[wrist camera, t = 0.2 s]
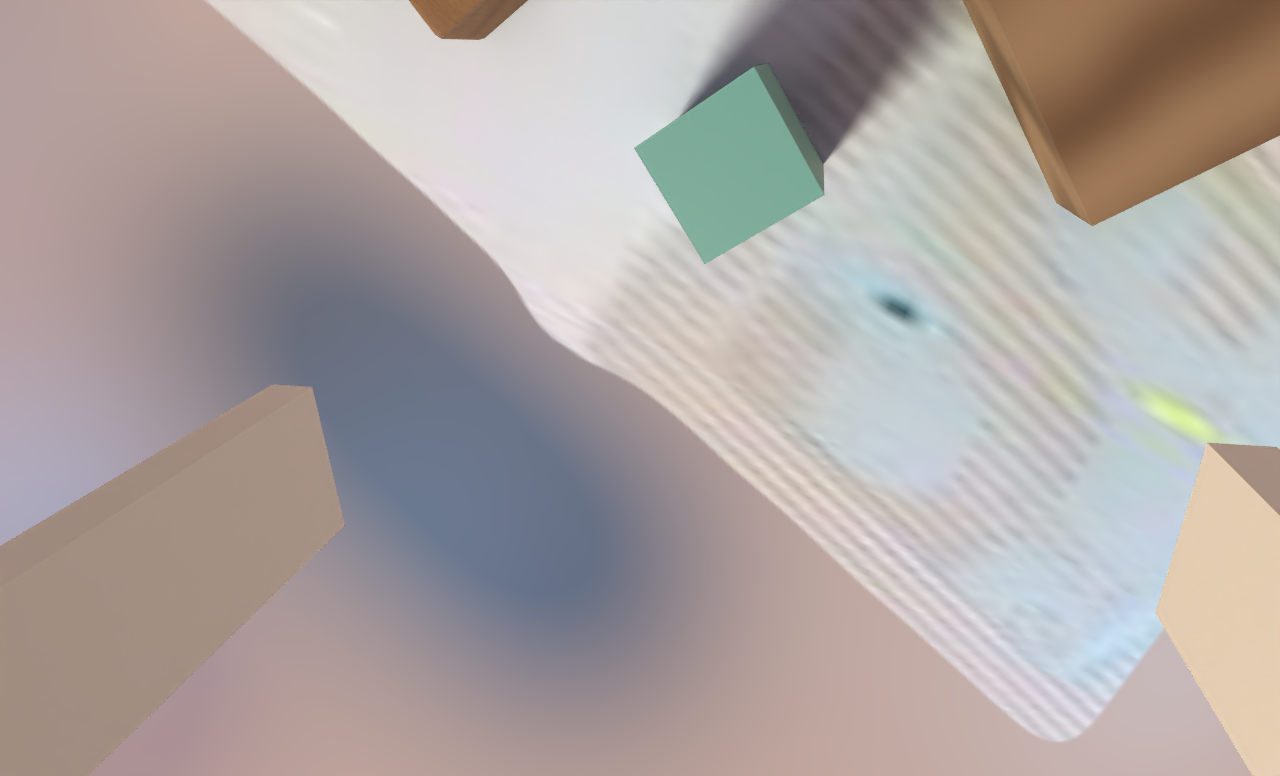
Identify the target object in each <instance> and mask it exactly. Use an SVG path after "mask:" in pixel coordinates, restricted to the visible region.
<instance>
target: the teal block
mask: <svg viewBox="0 0 1280 776" xmlns="http://www.w3.org/2000/svg"><path fill="white" fill-rule="evenodd" d="M634 149H635V150H636V152H637V154H638V155H639V157H640V158H641V160H642V162H643V163H644V165H645V167H646V168H647V170H648V172H649V173H650V175H651V177H652V178H653V180H654V181H655V183H656V185H657V186H658V188H659V190H660V191H661V193H662V195H663V196H664V198H665V200H666V201H667V203H668V205H669V206H670V208H671V209H672V211H673V213H674V214H675V216H676V218H677V219H678V221H679V223H680V224H681V226H682V228H683V229H684V231H685V232H686V234H687V236H688V237H689V239H690V241H691V242H692V244H693V246H694V247H695V249H696V251H697V252H698V254H699V255H700V257H701V259H702V260H703V262H704V264H706V263H707V262H709V261H711V260H713V259H714V258H716V257H718V256H720V255H721V254H723V253H725V252H726V251H728V250H730V249H732V248H733V247H735V246H737V245H739V244H740V243H742V242H744V241H745V240H747V239H749V238H751V237H752V236H754V235H756V234H758V233H759V232H761V231H763V230H765V229H766V228H768V227H770V226H771V225H773V224H775V223H777V222H778V221H780V220H782V219H784V218H785V217H787V216H789V215H790V214H792V213H794V212H796V211H797V210H799V209H801V208H803V207H804V206H806V205H808V204H809V203H811V202H813V201H815V200H816V199H818V198H820V197H822V196H823V195H824V170H823V163H822V161H821V159H820V157H819V155H818V153H817V152H816V150H815V148H814V146H813V144H812V142H811V140H810V139H809V137H808V135H807V133H806V131H805V129H804V128H803V126H802V124H801V122H800V120H799V118H798V117H797V115H796V113H795V111H794V109H793V107H792V105H791V104H790V102H789V100H788V98H787V96H786V94H785V93H784V91H783V89H782V87H781V85H780V83H779V81H778V80H777V78H776V76H775V74H774V72H773V70H772V69H771V67H770V65H769V63H766V64H762V65H758V66H754V67H752V68H751V69H749V70H748V71H747V72H745V73H744V74H742V75H741V76H739V77H738V78H736V79H735V80H733V81H732V82H730V83H729V84H727V85H726V86H725V87H723V88H722V89H720V90H719V91H717V92H716V93H714V94H713V95H711V96H710V97H708V98H707V99H705V100H704V101H703V102H701V103H700V104H698V105H697V106H695V107H694V108H692V109H691V110H689V111H688V112H686V113H685V114H683V115H682V116H680V117H679V118H678V119H676V120H675V121H673V122H672V123H670V124H669V125H667V126H666V127H664V128H663V129H661V130H660V131H658V132H657V133H656V134H654V135H653V136H651V137H650V138H648V139H647V140H645V141H644V142H642V143H641V144H639V145H638V146H636V147H635V148H634Z"/></svg>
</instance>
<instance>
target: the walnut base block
mask: <svg viewBox="0 0 1280 776" xmlns="http://www.w3.org/2000/svg"><path fill="white" fill-rule="evenodd" d="M963 2H964V4H965V6H966V8H967V11H968V13H969V15H970V17H971V19H972V21H973V23H974V26H975V28H976V30H977V32H978V34H979V36H980V39H981V41H982V43H983V45H984V47H985V49H986V52H987V54H988V56H989V58H990V60H991V62H992V65H993V67H994V69H995V71H996V73H997V75H998V77H999V80H1000V82H1001V84H1002V86H1003V88H1004V90H1005V93H1006V95H1007V97H1008V99H1009V101H1010V103H1011V106H1012V108H1013V110H1014V112H1015V114H1016V116H1017V119H1018V121H1019V123H1020V125H1021V127H1022V129H1023V132H1024V134H1025V136H1026V138H1027V140H1028V142H1029V144H1030V147H1031V149H1032V151H1033V153H1034V155H1035V157H1036V160H1037V162H1038V164H1039V166H1040V168H1041V170H1042V173H1043V175H1044V177H1045V179H1046V181H1047V183H1048V186H1049V188H1050V190H1051V192H1052V194H1053V196H1054V198H1055V201H1056V203H1057V204H1059V205H1061V206H1062V207H1064V208H1065V209H1067V210H1068V211H1070V212H1071V213H1073V214H1074V215H1076V216H1077V217H1079V218H1081V219H1082V220H1084V221H1085V222H1087V223H1088V224H1090V225H1091V226H1093V225H1096V224H1098V223H1100V222H1102V221H1104V220H1106V219H1108V218H1110V217H1112V216H1114V215H1116V214H1118V213H1120V212H1122V211H1124V210H1127V209H1129V208H1131V207H1133V206H1135V205H1137V204H1139V203H1141V202H1143V201H1145V200H1147V199H1149V198H1151V197H1153V196H1155V195H1157V194H1160V193H1162V192H1164V191H1166V190H1168V189H1170V188H1172V187H1174V186H1176V185H1178V184H1180V183H1182V182H1184V181H1186V180H1188V179H1191V178H1193V177H1195V176H1197V175H1199V174H1201V173H1203V172H1205V171H1207V170H1209V169H1211V168H1213V167H1215V166H1217V165H1219V164H1222V163H1224V162H1226V161H1228V160H1230V159H1232V158H1234V157H1236V156H1238V155H1240V154H1242V153H1244V152H1246V151H1248V150H1250V149H1253V148H1255V147H1257V146H1259V145H1261V144H1263V143H1265V142H1267V141H1269V140H1271V139H1273V138H1275V137H1277V136H1279V135H1280V0H963Z"/></svg>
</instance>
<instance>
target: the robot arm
mask: <svg viewBox="0 0 1280 776" xmlns="http://www.w3.org/2000/svg"><path fill="white" fill-rule="evenodd" d="M342 527H344V520H343V516H342V512H341V508H340V503H339V499H338V495H337V491H336V487H335V482H334V478H333V474H332V470H331V465H330V461H329V457H328V453H327V448H326V445H325V440H324V436H323V431H322V427H321V424H320V419H319V415H318V410H317V407H316V402H315V398H314V393H313V390H312V387H302V386H287V385H271V386H269V387H268V388H266V389H264V390H263V391H261V392H259V393H257V394H256V395H254V396H252V397H251V398H249V399H247V400H246V401H244V402H242V403H241V404H239V405H238V406H235V407H234V408H232V409H230V410H229V411H227V412H225V413H224V414H222V415H220V416H219V417H217V418H215V419H214V420H212V421H210V422H209V423H207V424H205V425H203V426H202V427H200V428H198V429H197V430H195V431H194V432H192V433H190V434H188V435H187V436H185V437H183V438H182V439H180V440H178V441H177V442H175V443H173V444H172V445H170V446H168V447H167V448H165V449H163V450H161V451H160V452H158V453H156V454H155V455H153V456H151V457H150V458H148V459H146V460H145V461H143V462H141V463H139V464H138V465H136V466H134V467H133V468H131V469H130V470H128V471H126V472H124V473H123V474H121V475H119V476H118V477H116V478H114V479H113V480H111V481H109V482H107V483H106V484H104V485H102V486H101V487H99V488H97V489H96V490H94V491H92V492H91V493H89V494H87V495H86V496H84V497H82V498H80V499H79V500H77V501H75V502H74V503H72V504H71V505H69V506H67V507H65V508H64V509H62V510H60V511H59V512H57V513H55V514H54V515H52V516H50V517H49V518H47V519H45V520H43V521H42V522H40V523H38V524H37V525H35V526H33V527H32V528H30V529H28V530H27V531H25V532H23V533H21V534H20V535H18V536H16V537H15V538H13V539H11V540H10V541H8V542H6V543H5V544H3V545H1V546H0V776H89V775H90V774H91V773H92V772H93V771H94V770H95V769H96V768H97V767H98V766H99V765H100V764H101V763H102V762H103V761H104V760H105V759H106V758H107V757H108V756H109V755H110V754H111V753H112V752H113V751H114V750H115V749H116V748H117V747H118V746H119V745H120V744H121V743H122V742H123V741H124V740H125V739H126V738H128V736H130V735H131V734H132V733H133V732H134V731H135V730H136V729H137V728H138V727H139V726H140V725H141V724H142V723H143V722H144V721H145V720H146V719H147V718H148V717H149V716H150V715H151V714H152V713H153V712H154V711H155V710H156V709H157V708H158V707H159V706H160V705H161V704H162V703H163V702H164V701H165V700H166V699H167V698H169V697H170V696H171V695H172V694H173V693H174V691H176V690H177V689H178V688H179V687H180V686H181V685H182V684H183V683H184V682H185V681H186V680H187V679H188V678H189V677H190V676H191V675H192V674H193V673H194V672H195V671H196V670H197V669H198V668H199V667H200V666H201V665H202V664H203V663H204V662H205V661H206V660H207V659H208V658H209V657H210V656H212V655H213V654H214V653H215V652H216V651H217V650H218V649H219V648H220V647H221V646H222V645H223V644H224V643H225V642H226V641H227V640H228V639H229V638H230V637H231V636H232V635H233V634H234V633H235V632H236V631H237V630H238V629H239V628H240V627H241V626H242V625H243V624H244V623H245V622H246V621H247V620H248V619H249V618H250V617H251V616H252V615H253V614H255V613H256V612H257V611H258V610H259V608H260V607H262V606H263V605H264V604H265V603H266V602H267V601H268V600H269V599H270V598H271V597H272V596H273V595H274V594H275V593H276V592H277V591H278V590H279V589H280V588H281V587H282V586H283V585H284V584H285V583H286V582H287V581H288V580H289V579H290V578H291V577H292V576H293V575H294V574H295V573H296V572H298V571H299V570H300V569H301V567H303V566H304V565H305V564H306V563H307V562H308V561H309V560H310V559H311V558H312V557H313V556H314V555H315V554H316V553H317V552H318V551H319V550H320V549H321V548H322V547H323V546H324V545H325V544H326V543H327V542H328V541H329V540H330V539H331V538H332V537H333V536H334V535H335V534H336V533H337V532H338V531H340V530H341V528H342ZM1155 613H1156V615H1157V616H1158V618H1159V620H1160V621H1161V623H1162V625H1163V626H1164V628H1165V630H1166V631H1167V633H1168V635H1169V636H1170V638H1171V640H1172V642H1173V643H1174V645H1175V647H1176V648H1177V650H1178V652H1179V653H1180V655H1181V657H1182V658H1183V660H1184V662H1185V663H1186V665H1187V667H1188V668H1189V670H1190V672H1191V673H1192V675H1193V677H1194V678H1195V680H1196V682H1197V683H1198V685H1199V687H1200V688H1201V690H1202V692H1203V693H1204V695H1205V697H1206V699H1207V700H1208V702H1209V703H1210V705H1211V707H1212V709H1213V710H1214V712H1215V714H1216V715H1217V717H1218V719H1219V720H1220V722H1221V723H1222V725H1223V727H1224V729H1225V730H1226V732H1227V734H1228V735H1229V737H1230V738H1231V740H1232V742H1233V744H1234V746H1235V747H1236V749H1237V751H1238V752H1239V754H1240V755H1241V757H1242V759H1243V760H1244V762H1245V764H1246V766H1247V767H1248V769H1249V771H1250V772H1251V774H1252V776H1280V450H1279V449H1278V448H1277V447H1267V446H1251V445H1235V444H1219V443H1207V445H1206V448H1205V452H1204V455H1203V458H1202V462H1201V465H1200V468H1199V471H1198V475H1197V478H1196V481H1195V484H1194V488H1193V491H1192V494H1191V498H1190V501H1189V504H1188V507H1187V511H1186V514H1185V517H1184V521H1183V524H1182V527H1181V530H1180V534H1179V537H1178V540H1177V544H1176V547H1175V550H1174V553H1173V557H1172V560H1171V563H1170V566H1169V570H1168V573H1167V576H1166V580H1165V583H1164V586H1163V589H1162V593H1161V596H1160V599H1159V603H1158V606H1157V609H1156V612H1155Z"/></svg>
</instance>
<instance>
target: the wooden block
mask: <svg viewBox="0 0 1280 776" xmlns="http://www.w3.org/2000/svg"><path fill="white" fill-rule="evenodd" d="M409 1H410V2H411V4H412V5H413V6H414V8H415V9H416V10H417V12H418V13H419V14H420V15H421V17H422V18H423V19H424V21H425V22H426V23H427V25H428V26H429V27H430V28H431V30H432V31H433V32H434V34H435V35H437V36H438V37H440V38H441V39H469V40H479V39H483V38H485V37H486V36H487V35H489V34H490V33H491V32H492V31H493V30H494V29H495V28H497V27H498V26H499V25H500V24H501V23H502V22H504V21H505V20H506V19H507V18H508V17H509V16H510V15H512V14H513V13H514V12H515V11H516V10H517V9H518V8H520V7H521V6H522V5H523V4H524V3H525V2H526V1H528V0H409Z"/></svg>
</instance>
